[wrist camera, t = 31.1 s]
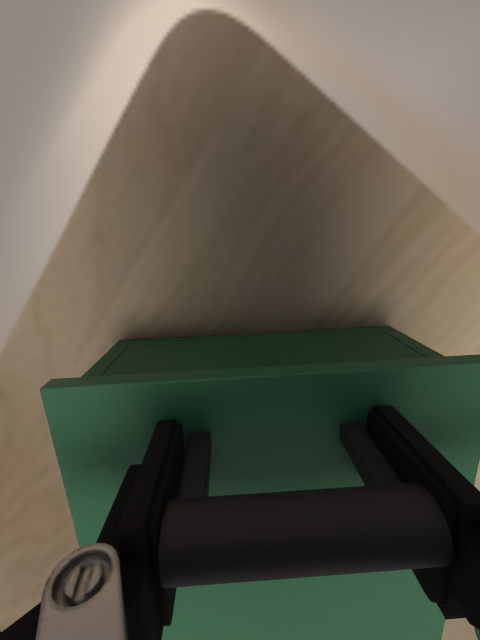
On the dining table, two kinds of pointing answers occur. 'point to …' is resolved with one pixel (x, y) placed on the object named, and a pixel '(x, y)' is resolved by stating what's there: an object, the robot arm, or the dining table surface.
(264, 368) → the lid
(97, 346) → the dining table surface
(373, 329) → the box
